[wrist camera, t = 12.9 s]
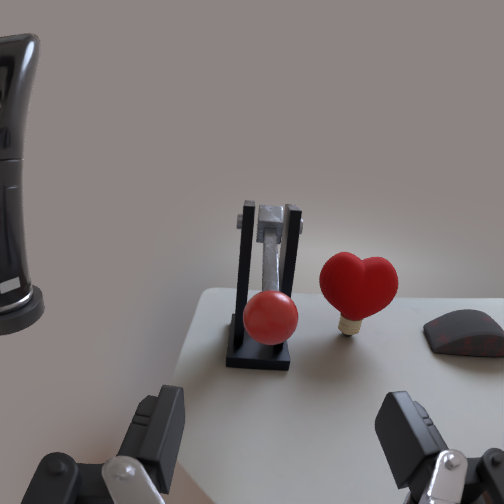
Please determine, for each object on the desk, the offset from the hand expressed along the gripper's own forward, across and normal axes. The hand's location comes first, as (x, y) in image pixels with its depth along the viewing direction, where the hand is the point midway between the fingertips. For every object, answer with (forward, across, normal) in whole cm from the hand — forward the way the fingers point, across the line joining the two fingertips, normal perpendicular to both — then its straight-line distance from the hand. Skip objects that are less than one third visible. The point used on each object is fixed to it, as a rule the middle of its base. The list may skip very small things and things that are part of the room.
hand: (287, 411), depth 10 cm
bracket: (+20, 0, +9) cm, 22 cm away
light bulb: (+22, -11, +10) cm, 27 cm away
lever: (+15, 0, 0) cm, 15 cm away
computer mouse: (+19, -29, +10) cm, 36 cm away
